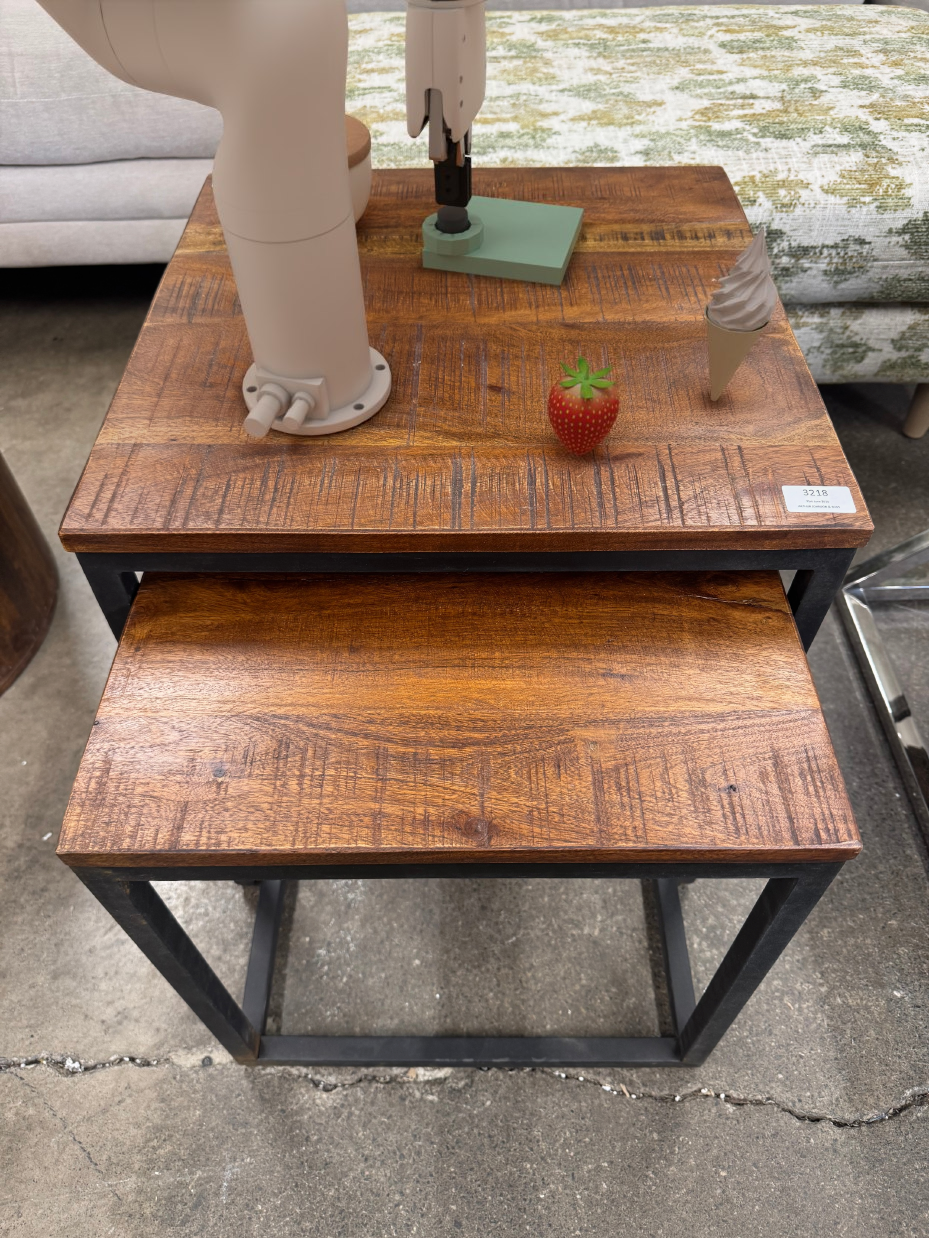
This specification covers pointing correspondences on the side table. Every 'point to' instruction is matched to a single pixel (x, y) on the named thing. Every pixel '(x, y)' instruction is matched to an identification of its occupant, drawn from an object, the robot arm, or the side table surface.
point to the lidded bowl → (358, 164)
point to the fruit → (582, 407)
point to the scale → (506, 240)
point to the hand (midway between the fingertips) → (453, 201)
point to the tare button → (452, 220)
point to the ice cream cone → (739, 313)
